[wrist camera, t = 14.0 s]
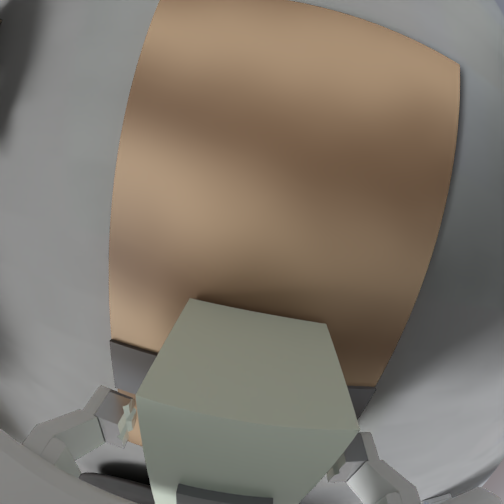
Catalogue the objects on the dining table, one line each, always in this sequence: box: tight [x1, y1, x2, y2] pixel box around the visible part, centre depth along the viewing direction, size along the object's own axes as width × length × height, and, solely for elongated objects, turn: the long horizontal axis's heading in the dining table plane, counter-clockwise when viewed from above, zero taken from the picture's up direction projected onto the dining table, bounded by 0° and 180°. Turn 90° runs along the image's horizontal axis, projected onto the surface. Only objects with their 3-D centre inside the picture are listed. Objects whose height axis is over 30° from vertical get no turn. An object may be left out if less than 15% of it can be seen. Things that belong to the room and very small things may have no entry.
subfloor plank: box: [109, 0, 460, 446], centre depth 10 cm, size 23×12×1 cm, turn 169°
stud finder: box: [135, 298, 360, 504], centre depth 9 cm, size 9×5×5 cm, turn 169°
